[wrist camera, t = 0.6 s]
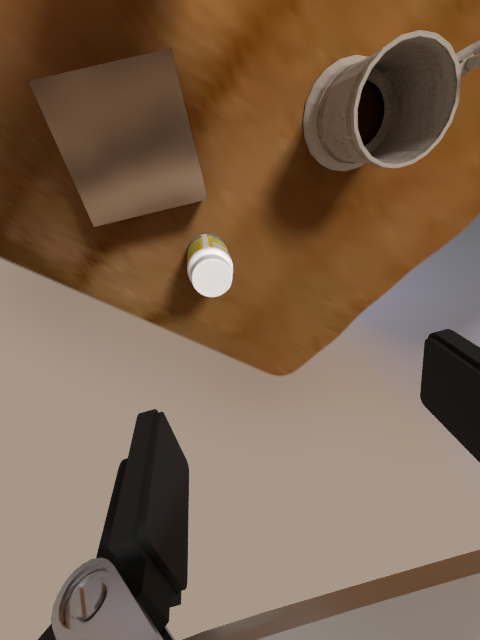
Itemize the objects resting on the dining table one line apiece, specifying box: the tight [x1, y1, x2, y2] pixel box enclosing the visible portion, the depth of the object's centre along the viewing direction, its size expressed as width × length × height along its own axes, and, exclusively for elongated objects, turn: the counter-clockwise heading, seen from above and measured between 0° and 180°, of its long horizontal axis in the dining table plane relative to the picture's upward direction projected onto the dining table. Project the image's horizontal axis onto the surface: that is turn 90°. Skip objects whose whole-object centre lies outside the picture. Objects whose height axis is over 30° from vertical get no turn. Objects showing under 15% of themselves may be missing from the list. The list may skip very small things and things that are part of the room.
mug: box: [303, 30, 480, 171], centre depth 25 cm, size 14×10×12 cm
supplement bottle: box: [187, 234, 233, 297], centre depth 32 cm, size 5×5×8 cm
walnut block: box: [28, 48, 208, 227], centre depth 27 cm, size 11×11×5 cm
